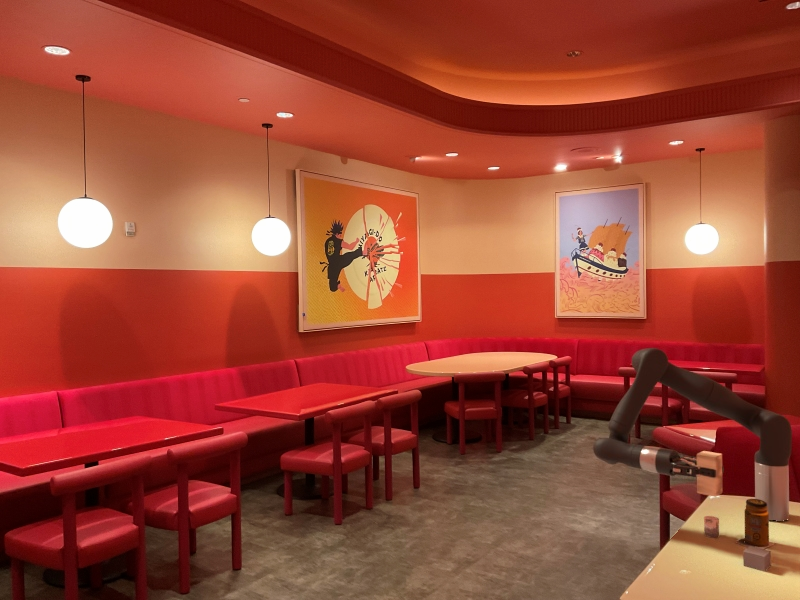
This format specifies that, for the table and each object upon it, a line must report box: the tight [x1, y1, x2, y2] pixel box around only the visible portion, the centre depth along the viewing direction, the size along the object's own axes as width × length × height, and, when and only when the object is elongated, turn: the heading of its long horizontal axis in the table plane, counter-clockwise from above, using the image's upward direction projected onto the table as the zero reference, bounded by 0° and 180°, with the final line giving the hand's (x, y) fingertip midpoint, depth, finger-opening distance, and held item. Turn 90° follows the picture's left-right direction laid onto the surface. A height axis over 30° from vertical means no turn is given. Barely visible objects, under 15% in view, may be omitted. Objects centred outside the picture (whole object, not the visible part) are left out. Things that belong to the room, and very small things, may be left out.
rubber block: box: [742, 546, 772, 573], centre depth 166 cm, size 5×5×4 cm
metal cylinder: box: [703, 515, 720, 539], centre depth 187 cm, size 4×4×5 cm
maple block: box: [696, 450, 723, 498], centre depth 178 cm, size 5×5×11 cm
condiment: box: [734, 498, 776, 550], centre depth 180 cm, size 7×8×12 cm
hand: (719, 471), depth 176 cm, fingers closed on maple block, 5 cm apart
